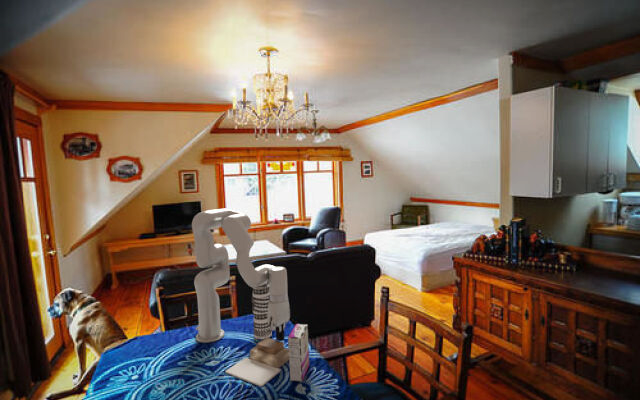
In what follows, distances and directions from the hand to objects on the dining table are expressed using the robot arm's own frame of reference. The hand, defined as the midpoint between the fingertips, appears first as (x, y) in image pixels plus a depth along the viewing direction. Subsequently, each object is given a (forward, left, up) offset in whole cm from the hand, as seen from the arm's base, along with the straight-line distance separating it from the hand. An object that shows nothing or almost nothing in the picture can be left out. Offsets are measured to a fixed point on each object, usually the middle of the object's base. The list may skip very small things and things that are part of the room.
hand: (280, 339), depth 140 cm
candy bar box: (+16, -9, -6) cm, 19 cm away
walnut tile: (0, -6, -1) cm, 7 cm away
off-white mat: (0, -17, -5) cm, 18 cm away
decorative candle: (-17, +8, -6) cm, 20 cm away
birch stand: (0, -7, -5) cm, 9 cm away
